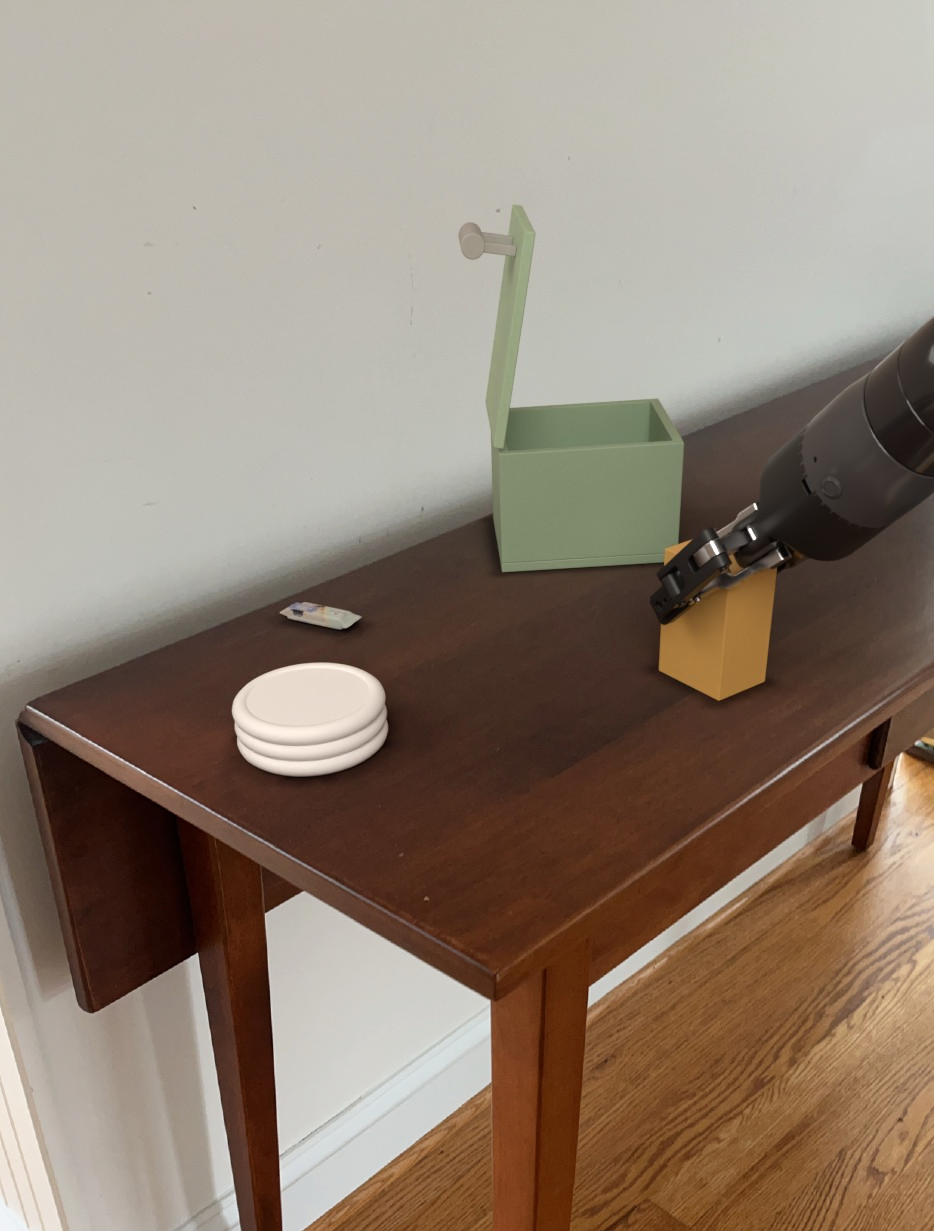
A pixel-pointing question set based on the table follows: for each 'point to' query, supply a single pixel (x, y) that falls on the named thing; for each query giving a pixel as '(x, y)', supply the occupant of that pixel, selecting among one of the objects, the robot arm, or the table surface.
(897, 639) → the table surface
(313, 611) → the granola bar
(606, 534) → the chest
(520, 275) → the lid
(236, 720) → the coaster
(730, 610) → the carton
